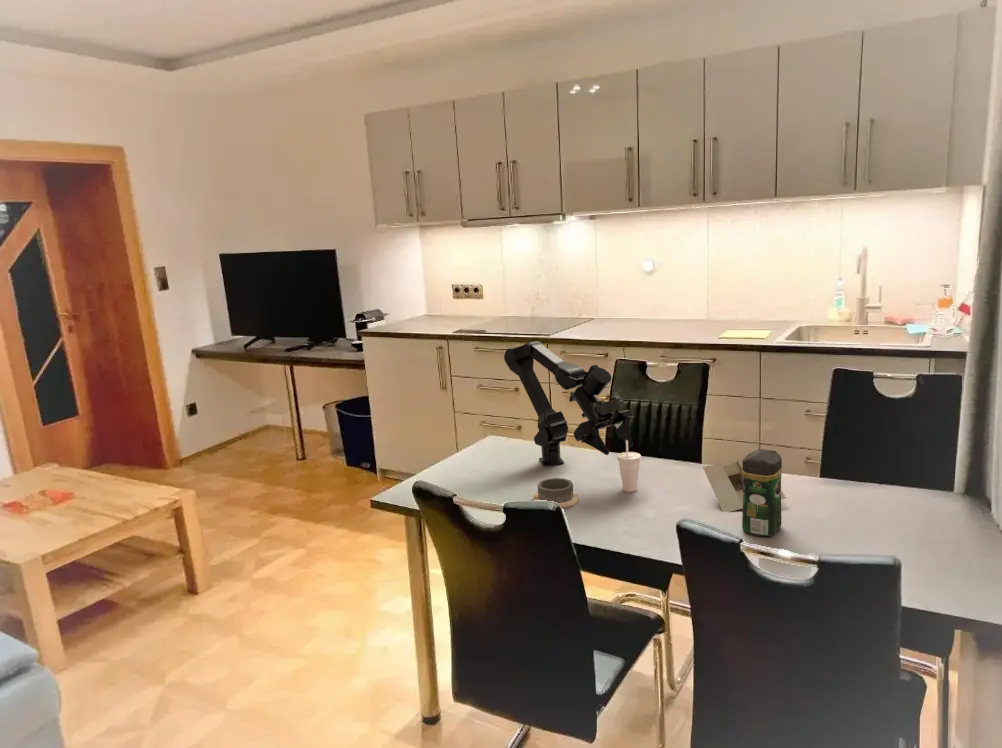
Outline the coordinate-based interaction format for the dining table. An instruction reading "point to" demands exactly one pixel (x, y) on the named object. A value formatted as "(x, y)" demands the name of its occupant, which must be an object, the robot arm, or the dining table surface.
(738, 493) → the open cardboard box
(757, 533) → the coffee jar
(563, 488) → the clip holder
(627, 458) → the smoothie
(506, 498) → the dining table surface
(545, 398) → the robot arm
